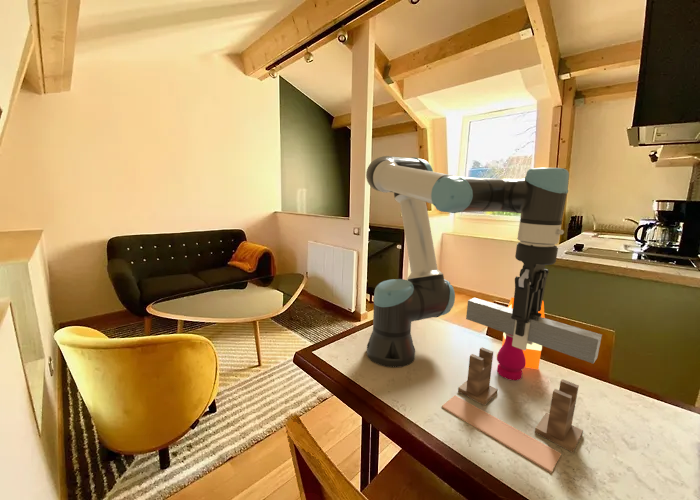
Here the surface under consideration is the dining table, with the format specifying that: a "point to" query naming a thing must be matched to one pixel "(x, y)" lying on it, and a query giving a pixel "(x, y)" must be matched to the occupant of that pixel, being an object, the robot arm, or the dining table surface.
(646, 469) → the dining table surface
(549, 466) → the mat
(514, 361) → the pepper mill
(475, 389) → the hook stands
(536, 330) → the rail
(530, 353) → the orange juice
